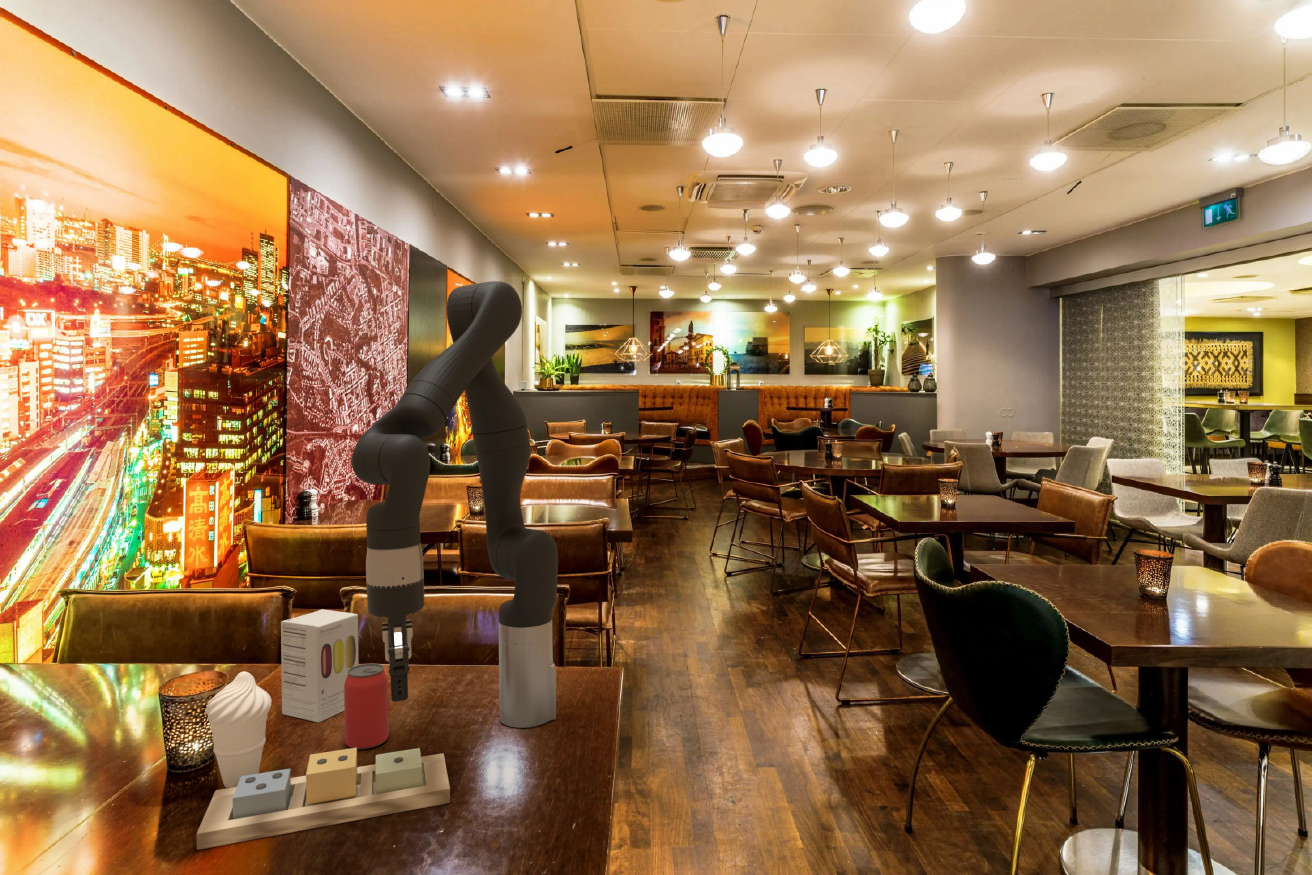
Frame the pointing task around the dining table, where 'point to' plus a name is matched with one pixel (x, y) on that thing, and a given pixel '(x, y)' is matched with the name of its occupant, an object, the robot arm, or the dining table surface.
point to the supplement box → (317, 662)
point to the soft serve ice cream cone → (239, 727)
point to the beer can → (366, 706)
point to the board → (322, 806)
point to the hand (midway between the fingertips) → (399, 698)
